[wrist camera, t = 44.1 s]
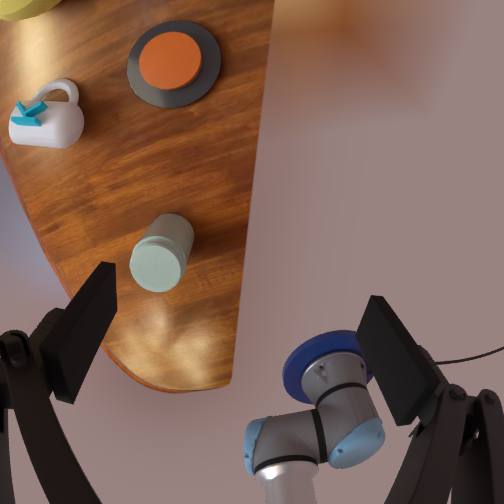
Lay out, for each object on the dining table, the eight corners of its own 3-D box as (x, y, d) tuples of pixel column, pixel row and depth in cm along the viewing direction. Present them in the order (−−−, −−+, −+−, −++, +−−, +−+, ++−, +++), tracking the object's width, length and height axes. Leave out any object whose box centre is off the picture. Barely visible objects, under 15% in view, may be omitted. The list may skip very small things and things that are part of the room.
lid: (151, 33, 36) (147, 29, 34) (208, 39, 38) (207, 35, 36) (137, 87, 40) (133, 85, 38) (194, 94, 41) (192, 93, 39)
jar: (196, 216, 49) (186, 246, 38) (192, 260, 52) (182, 298, 41) (150, 210, 49) (127, 238, 38) (147, 254, 52) (127, 290, 41)
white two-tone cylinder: (58, 137, 33) (-3, 133, 32) (82, 156, 42) (24, 149, 41) (88, 61, 34) (25, 63, 32) (104, 89, 43) (47, 87, 41)
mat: (229, 26, 38) (228, 24, 37) (212, 112, 43) (212, 112, 42) (138, 21, 36) (136, 19, 35) (122, 105, 42) (120, 105, 41)
